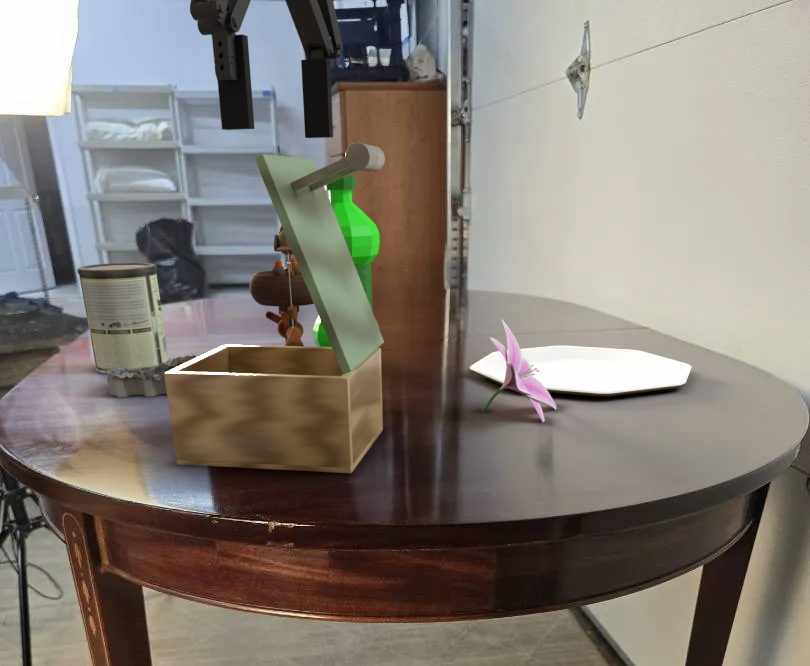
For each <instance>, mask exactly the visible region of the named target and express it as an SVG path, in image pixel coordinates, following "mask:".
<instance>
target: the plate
mask: <svg viewBox="0 0 810 666" xmlns="http://www.w3.org/2000/svg"><path fill="white" fill-rule="evenodd" d="M520 350H521V354H522V357H523V358H525V359H526V360H527V361H528V362H529V364H530V366H532V365H533V366H532V367H531V368H532V370H533V369H535V368H537V370H538V372H537V371H536V370H533V371H534V372H533V371H532V372H533V374H535V375H533V377H534V378H536V379H537V380H539V381H540V382H541V383H542V384H543V386H544V387H545V388H546V389H547V391H548V392H549V393H554V394H555V393H556V394H569V395H579V396H591V397H615V396H621V395H623V396H624V395H630V394H639V393H647V392H655V391H663V390H671V389H672V390H673V389H679V388H681V387H684V386H686V383H687V382H688V378H689V376H690V373H691V372H692V368H693V366H692V365H690V364H689V363H686V362H682V361H678V360H676V359H672V358H668V357H665V356H660V355H658V354H654V353H651V352H646V351H644V350H643V351H642V350H638V349H637V350H636V349H627V348H612V347H611V348H609V347H596V346H595V347H592V346H577V345H549V346H548V345H547V346H538V347H528V348H520ZM506 351H507V356H508V349H506ZM507 362H508V361H507ZM539 370H540V371H539ZM469 371H470V372H471V373H473V374H476V375H477V376H480V377H482V378H485V379H487V380H490V381H492V382H493V383H496V384H497V385H501V386H502V385H503V383H504V380H505V374H506V360H505V358H504V357H503V355H502V354H501V352H500V351H499V350H498V351H492V352H491V353H489V354H488V355H486V356H485V357H483V358H481V359H480V360H478V361H476V362H475V363H473V364H472V365H470V366H469Z"/></svg>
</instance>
